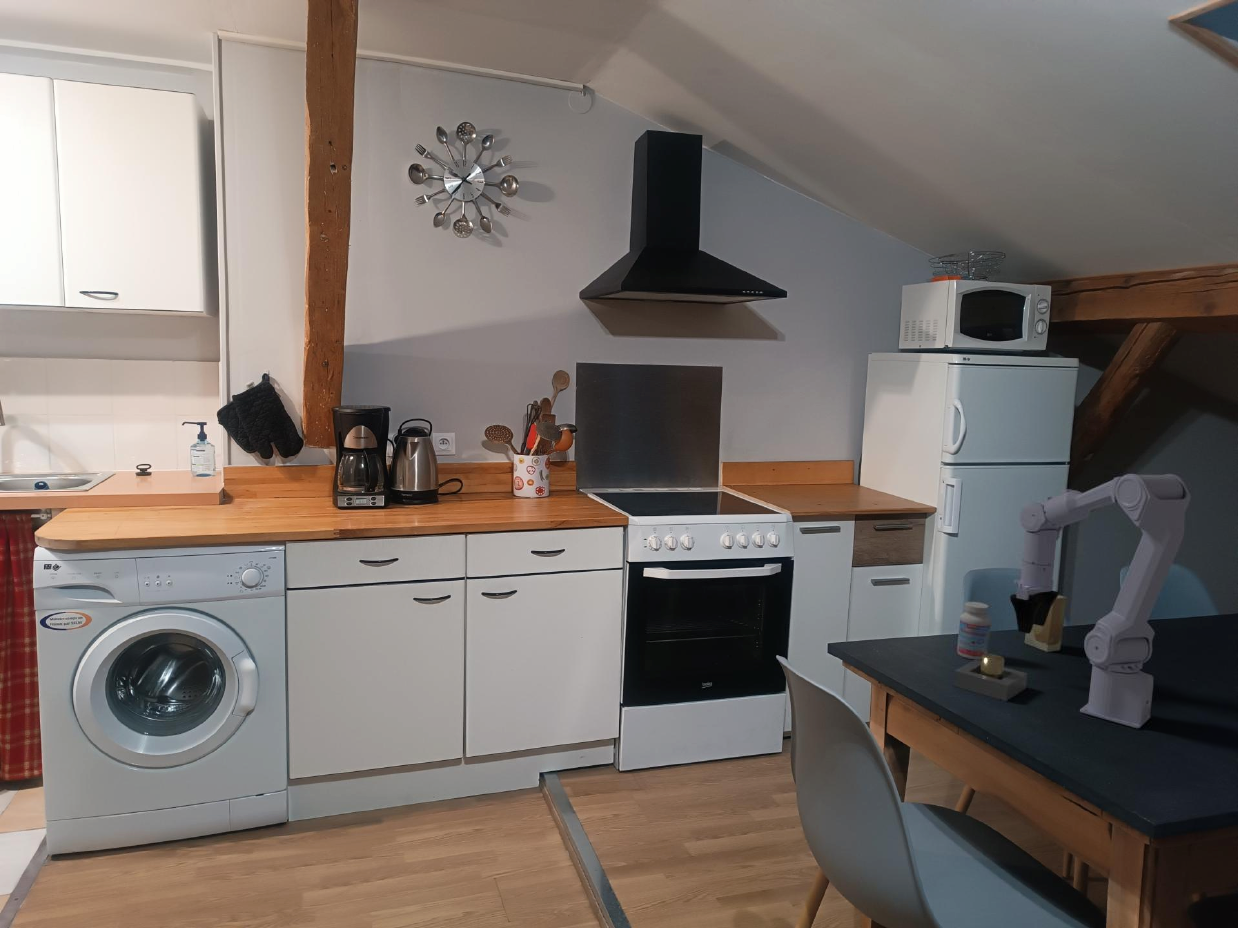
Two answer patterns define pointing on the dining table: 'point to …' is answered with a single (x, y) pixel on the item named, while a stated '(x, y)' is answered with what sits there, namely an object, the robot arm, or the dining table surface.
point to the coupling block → (990, 681)
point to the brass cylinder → (992, 666)
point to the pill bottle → (974, 631)
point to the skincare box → (1049, 628)
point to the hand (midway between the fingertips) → (1031, 628)
